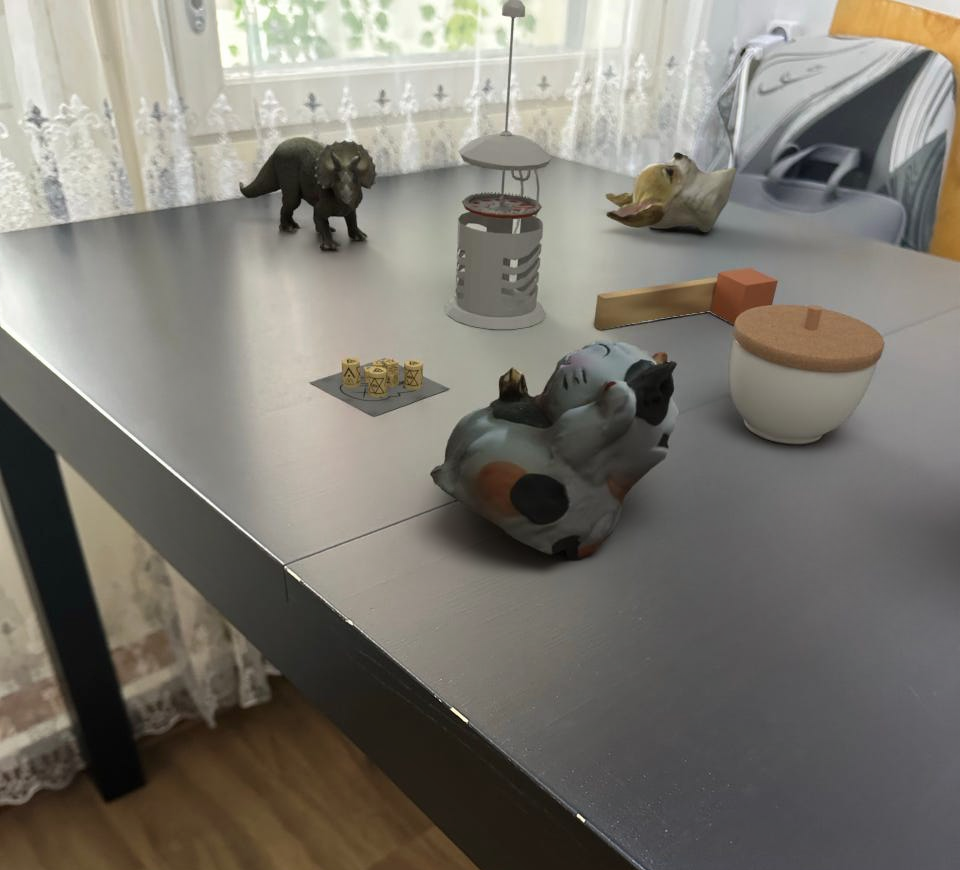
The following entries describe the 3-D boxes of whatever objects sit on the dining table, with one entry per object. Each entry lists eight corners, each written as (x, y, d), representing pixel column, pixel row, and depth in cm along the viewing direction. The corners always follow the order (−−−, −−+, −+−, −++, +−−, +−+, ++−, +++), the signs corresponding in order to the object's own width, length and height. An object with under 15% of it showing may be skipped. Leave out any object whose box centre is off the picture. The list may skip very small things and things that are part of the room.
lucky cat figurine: (462, 448, 69) (567, 272, 63) (600, 541, 69) (718, 373, 63) (396, 489, 55) (522, 270, 49) (569, 606, 55) (715, 399, 49)
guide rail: (720, 305, 96) (726, 275, 94) (728, 309, 95) (734, 279, 93) (593, 326, 90) (597, 294, 88) (600, 330, 89) (604, 298, 87)
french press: (426, 315, 89) (431, -4, 74) (479, 281, 98) (493, -12, 82) (521, 337, 86) (548, 9, 71) (568, 300, 95) (600, -1, 79)
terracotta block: (740, 308, 95) (750, 267, 93) (768, 321, 93) (778, 280, 90) (710, 313, 94) (718, 272, 91) (736, 327, 91) (746, 285, 89)
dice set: (426, 386, 77) (426, 363, 76) (378, 403, 74) (377, 380, 73) (385, 367, 80) (385, 344, 78) (337, 382, 77) (336, 359, 76)
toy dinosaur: (234, 219, 111) (222, 110, 104) (295, 208, 115) (288, 104, 108) (346, 270, 98) (341, 151, 91) (409, 256, 103) (410, 141, 96)
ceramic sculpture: (744, 162, 107) (610, 161, 108) (732, 243, 112) (604, 241, 113) (733, 144, 115) (608, 142, 116) (722, 219, 120) (603, 218, 122)
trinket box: (710, 391, 79) (735, 276, 73) (841, 404, 78) (877, 290, 72) (718, 450, 71) (746, 326, 65) (864, 466, 70) (907, 341, 64)
